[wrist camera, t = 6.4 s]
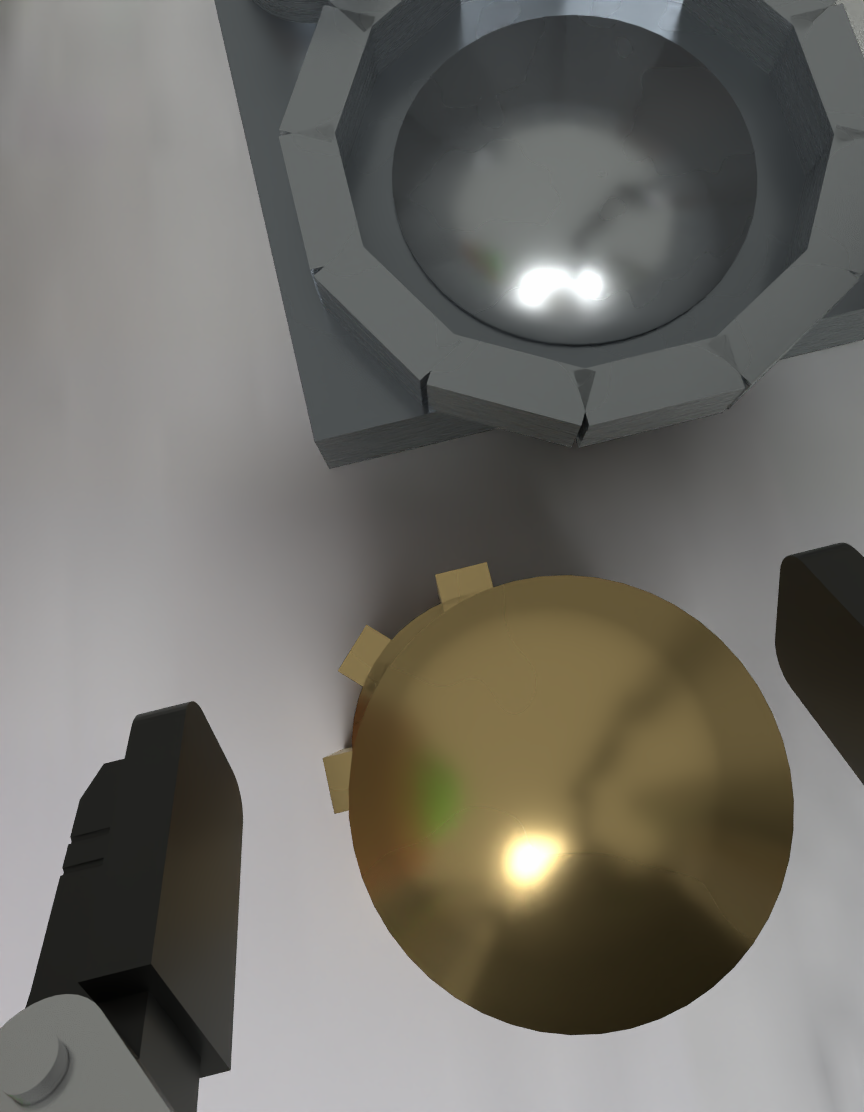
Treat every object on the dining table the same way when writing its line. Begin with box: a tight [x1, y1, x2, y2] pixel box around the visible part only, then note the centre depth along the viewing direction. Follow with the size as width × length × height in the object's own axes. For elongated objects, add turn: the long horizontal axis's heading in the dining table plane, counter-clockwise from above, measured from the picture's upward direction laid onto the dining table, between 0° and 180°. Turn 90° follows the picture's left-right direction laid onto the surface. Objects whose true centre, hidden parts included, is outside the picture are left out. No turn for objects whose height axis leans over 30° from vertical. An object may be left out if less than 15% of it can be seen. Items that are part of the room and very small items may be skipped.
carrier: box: [215, 0, 864, 469], centre depth 15 cm, size 12×13×6 cm
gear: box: [323, 562, 794, 1035], centre depth 11 cm, size 6×6×10 cm
